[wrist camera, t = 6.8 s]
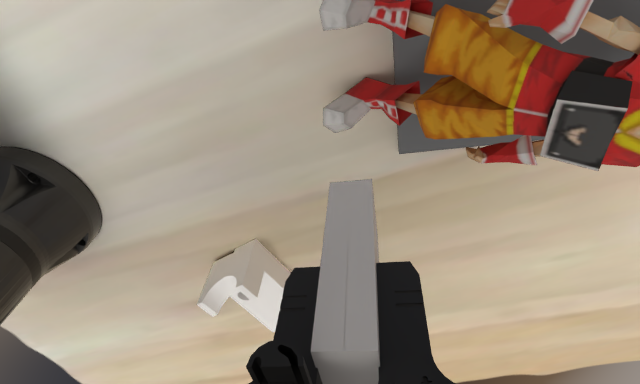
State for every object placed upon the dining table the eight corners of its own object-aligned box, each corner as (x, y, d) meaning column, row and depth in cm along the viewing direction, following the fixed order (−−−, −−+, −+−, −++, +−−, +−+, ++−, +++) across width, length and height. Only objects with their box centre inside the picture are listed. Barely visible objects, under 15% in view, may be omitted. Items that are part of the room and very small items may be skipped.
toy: (286, 3, 24) (1305, 159, 8) (368, -50, 28) (1168, -18, 12) (321, 145, 33) (843, 361, 17) (381, 90, 37) (851, 221, 20)
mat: (398, 149, 38) (399, 153, 38) (383, -134, 26) (384, -135, 25) (669, 122, 34) (675, 126, 34) (810, -228, 22) (823, -232, 21)
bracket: (215, 257, 50) (196, 304, 44) (256, 236, 48) (242, 284, 41) (276, 311, 56) (267, 359, 50) (316, 295, 53) (311, 345, 47)
